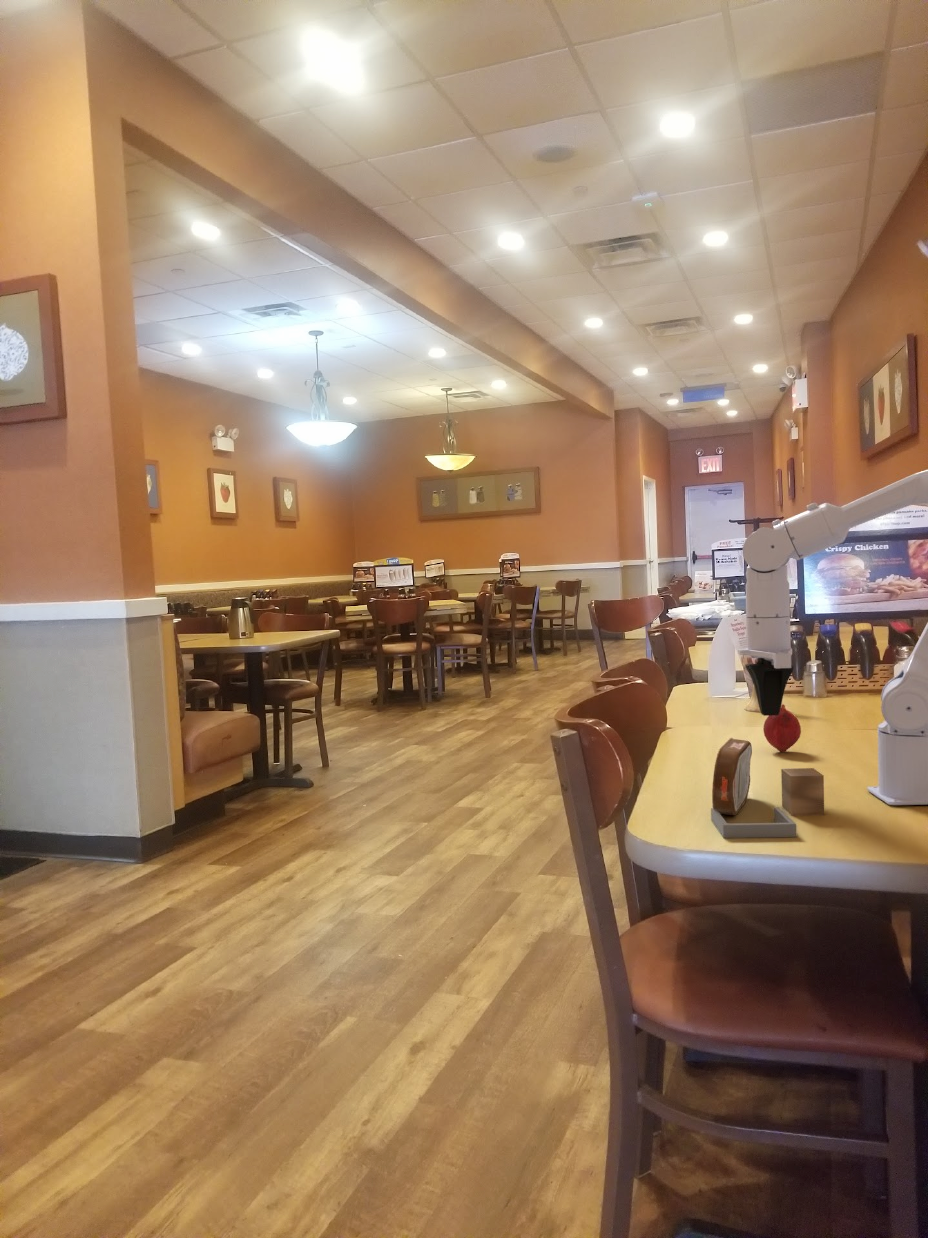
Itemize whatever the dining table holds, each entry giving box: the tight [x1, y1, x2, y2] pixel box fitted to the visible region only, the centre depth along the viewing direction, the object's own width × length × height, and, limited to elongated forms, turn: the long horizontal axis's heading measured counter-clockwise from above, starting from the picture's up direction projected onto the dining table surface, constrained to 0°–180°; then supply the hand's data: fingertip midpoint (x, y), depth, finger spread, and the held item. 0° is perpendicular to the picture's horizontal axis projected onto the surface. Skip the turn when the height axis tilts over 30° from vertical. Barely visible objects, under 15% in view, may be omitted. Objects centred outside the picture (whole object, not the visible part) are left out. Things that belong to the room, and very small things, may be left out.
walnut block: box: [780, 767, 825, 816], centre depth 112 cm, size 4×4×5 cm
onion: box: [762, 703, 802, 753], centre depth 146 cm, size 6×6×8 cm
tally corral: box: [710, 806, 797, 839], centre depth 105 cm, size 8×7×2 cm
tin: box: [711, 737, 753, 816], centre depth 114 cm, size 15×3×8 cm, turn 154°
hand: (770, 714), depth 122 cm, fingers closed
